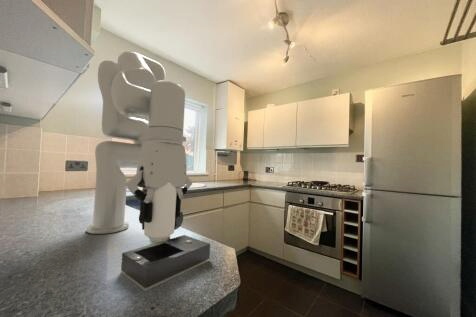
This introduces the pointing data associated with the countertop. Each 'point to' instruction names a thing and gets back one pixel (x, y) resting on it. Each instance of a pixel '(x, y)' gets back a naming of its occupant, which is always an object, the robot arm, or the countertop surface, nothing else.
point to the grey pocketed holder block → (163, 260)
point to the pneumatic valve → (177, 224)
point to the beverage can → (162, 213)
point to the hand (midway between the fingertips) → (161, 217)
